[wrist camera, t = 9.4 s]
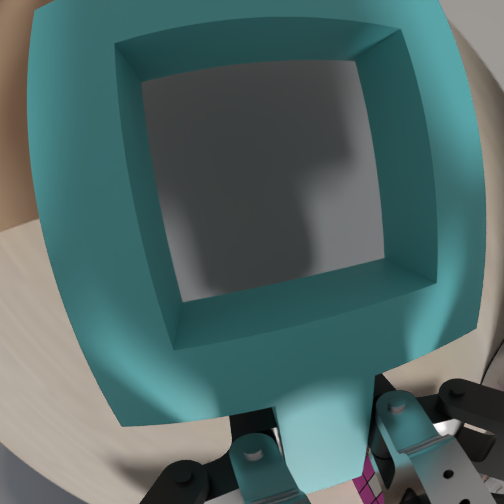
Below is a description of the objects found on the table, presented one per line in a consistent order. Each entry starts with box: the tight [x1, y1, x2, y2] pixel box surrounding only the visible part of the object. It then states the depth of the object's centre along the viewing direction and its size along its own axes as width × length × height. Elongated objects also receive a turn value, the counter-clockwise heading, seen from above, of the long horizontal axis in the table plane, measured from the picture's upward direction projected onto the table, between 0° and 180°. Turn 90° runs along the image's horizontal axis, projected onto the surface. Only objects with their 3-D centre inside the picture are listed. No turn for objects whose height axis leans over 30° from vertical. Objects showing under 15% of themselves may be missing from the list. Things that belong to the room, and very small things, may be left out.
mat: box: [141, 60, 384, 302], centre depth 12 cm, size 15×16×1 cm
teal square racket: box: [27, 0, 486, 494], centre depth 7 cm, size 10×15×2 cm, turn 9°
